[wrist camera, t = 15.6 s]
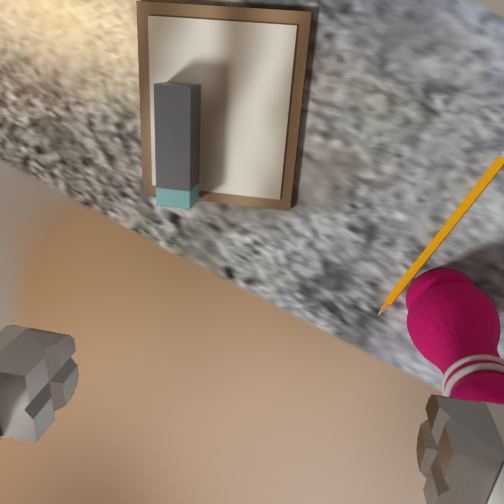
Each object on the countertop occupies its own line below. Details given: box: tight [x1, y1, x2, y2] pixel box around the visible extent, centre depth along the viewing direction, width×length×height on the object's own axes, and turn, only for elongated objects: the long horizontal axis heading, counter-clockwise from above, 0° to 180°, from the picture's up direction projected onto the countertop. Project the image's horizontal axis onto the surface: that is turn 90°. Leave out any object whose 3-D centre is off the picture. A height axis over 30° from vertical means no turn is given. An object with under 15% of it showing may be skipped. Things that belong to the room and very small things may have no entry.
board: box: [137, 1, 312, 211], centre depth 38 cm, size 14×16×1 cm
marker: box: [154, 82, 201, 209], centre depth 38 cm, size 3×10×3 cm, turn 176°
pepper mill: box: [406, 269, 504, 404], centre depth 33 cm, size 7×7×20 cm
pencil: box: [378, 150, 504, 315], centre depth 39 cm, size 1×19×1 cm, turn 153°
